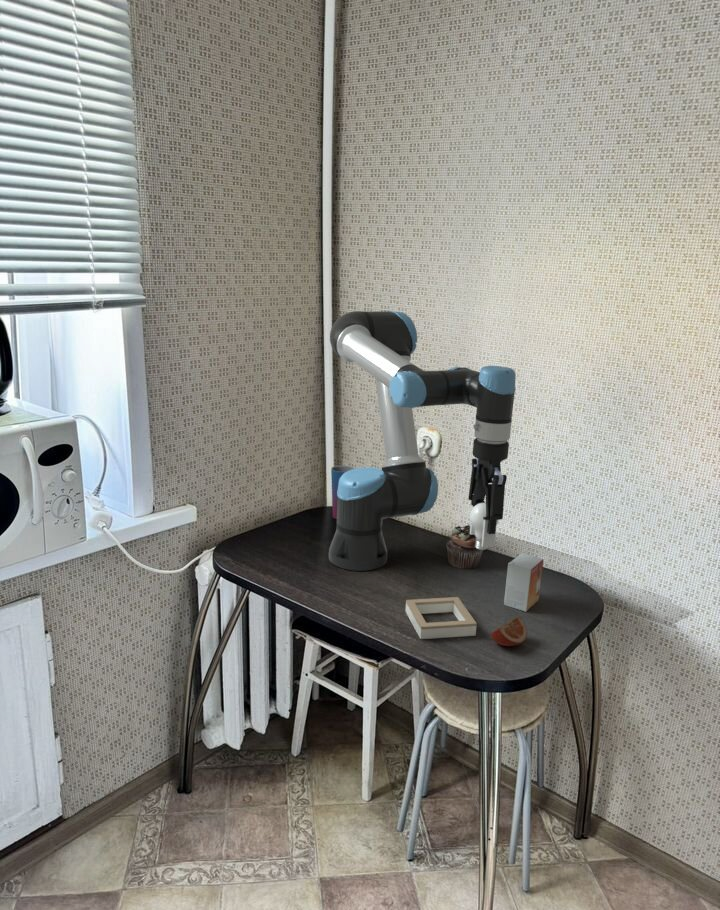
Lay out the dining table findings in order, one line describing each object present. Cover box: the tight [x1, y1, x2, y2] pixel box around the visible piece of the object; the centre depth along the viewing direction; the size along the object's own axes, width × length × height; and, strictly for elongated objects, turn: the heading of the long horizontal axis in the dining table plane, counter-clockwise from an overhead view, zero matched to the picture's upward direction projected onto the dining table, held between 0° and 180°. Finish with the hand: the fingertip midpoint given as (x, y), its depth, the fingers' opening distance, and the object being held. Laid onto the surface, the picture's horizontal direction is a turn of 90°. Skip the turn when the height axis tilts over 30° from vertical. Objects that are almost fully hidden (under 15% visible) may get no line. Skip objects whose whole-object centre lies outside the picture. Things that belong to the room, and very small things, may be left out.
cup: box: [330, 465, 355, 520], centre depth 212 cm, size 7×7×15 cm
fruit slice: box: [489, 615, 528, 647], centre depth 146 cm, size 8×7×5 cm
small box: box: [503, 552, 545, 613], centre depth 163 cm, size 8×6×10 cm
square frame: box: [405, 596, 478, 640], centre depth 153 cm, size 12×12×3 cm
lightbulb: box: [469, 502, 499, 551], centre depth 158 cm, size 6×6×11 cm
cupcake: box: [445, 524, 484, 570], centre depth 184 cm, size 10×10×10 cm
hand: (481, 539), depth 159 cm, fingers closed on lightbulb, 6 cm apart
